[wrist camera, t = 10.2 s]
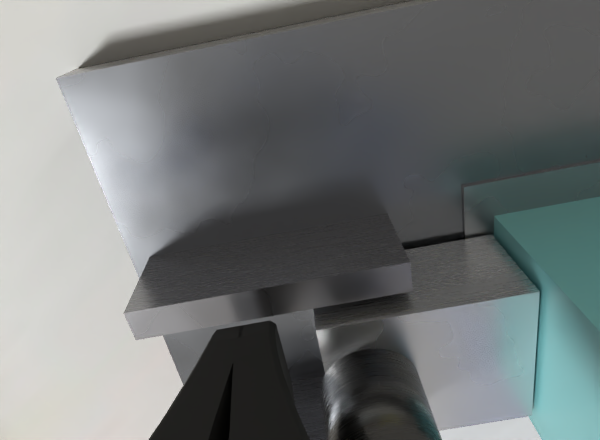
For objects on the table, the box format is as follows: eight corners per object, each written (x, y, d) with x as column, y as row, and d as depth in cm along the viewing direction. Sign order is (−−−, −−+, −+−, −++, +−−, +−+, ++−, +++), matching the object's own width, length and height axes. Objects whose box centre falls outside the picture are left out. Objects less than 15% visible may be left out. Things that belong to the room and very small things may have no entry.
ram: (491, 345, 14) (603, 538, 9) (324, 374, 15) (348, 577, 10) (491, 234, 13) (631, 401, 8) (301, 268, 13) (317, 451, 8)
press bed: (680, 346, 17) (775, 433, 14) (215, 423, 18) (201, 523, 14) (786, -76, 11) (1001, -100, 8) (76, 68, 12) (-1, 103, 8)
